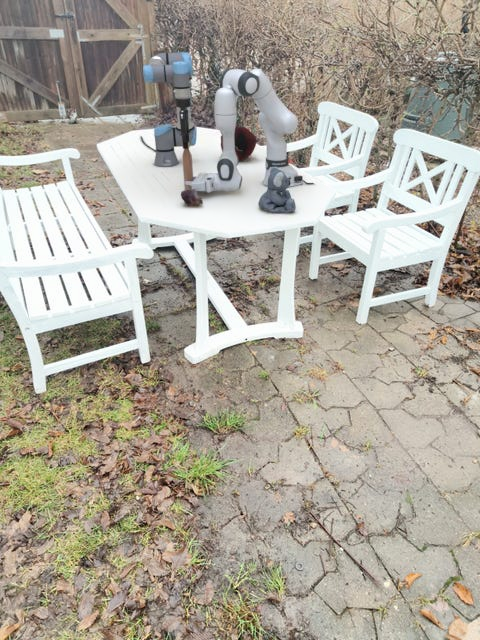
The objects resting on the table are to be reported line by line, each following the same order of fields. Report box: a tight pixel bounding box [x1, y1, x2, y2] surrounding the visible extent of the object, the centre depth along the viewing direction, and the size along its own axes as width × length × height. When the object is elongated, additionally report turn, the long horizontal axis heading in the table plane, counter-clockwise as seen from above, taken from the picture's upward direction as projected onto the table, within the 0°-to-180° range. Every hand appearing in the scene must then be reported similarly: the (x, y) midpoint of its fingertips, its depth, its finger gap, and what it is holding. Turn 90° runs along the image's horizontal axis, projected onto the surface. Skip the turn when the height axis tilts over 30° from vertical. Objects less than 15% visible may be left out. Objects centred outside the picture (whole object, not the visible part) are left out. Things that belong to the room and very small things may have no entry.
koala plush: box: [257, 167, 297, 214], centre depth 221 cm, size 17×18×20 cm
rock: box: [180, 189, 204, 207], centre depth 229 cm, size 12×9×10 cm
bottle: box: [181, 148, 194, 191], centre depth 240 cm, size 5×5×26 cm
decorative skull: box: [219, 125, 257, 162], centre depth 297 cm, size 21×24×25 cm
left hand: (186, 147), depth 234 cm, fingers closed on cap, 4 cm apart
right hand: (187, 180), depth 244 cm, fingers closed on bottle, 5 cm apart
